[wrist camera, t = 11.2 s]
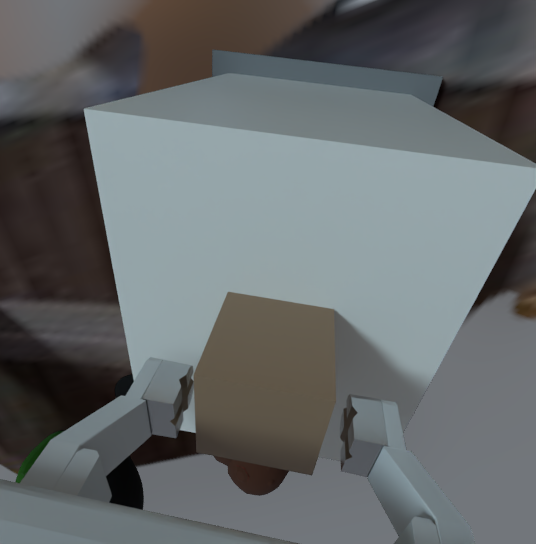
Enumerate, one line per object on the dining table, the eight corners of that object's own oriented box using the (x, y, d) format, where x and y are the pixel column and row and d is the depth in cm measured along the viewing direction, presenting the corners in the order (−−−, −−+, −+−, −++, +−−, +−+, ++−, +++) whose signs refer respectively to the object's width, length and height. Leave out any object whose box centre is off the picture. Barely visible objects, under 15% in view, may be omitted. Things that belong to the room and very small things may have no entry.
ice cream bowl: (332, 331, 38) (333, 471, 25) (296, 391, 44) (283, 527, 31) (239, 299, 37) (194, 426, 25) (217, 364, 43) (171, 492, 31)
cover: (224, 256, 34) (101, 503, 15) (229, 72, 25) (-37, 138, 7) (358, 277, 33) (396, 566, 14) (411, 94, 24) (669, 237, 6)
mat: (213, 260, 35) (211, 263, 34) (214, 49, 25) (212, 49, 24) (372, 286, 34) (373, 290, 33) (440, 76, 24) (442, 76, 23)
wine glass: (111, 404, 52) (7, 572, 35) (121, 363, 46) (4, 540, 29) (176, 429, 53) (105, 604, 36) (194, 391, 47) (120, 579, 30)
